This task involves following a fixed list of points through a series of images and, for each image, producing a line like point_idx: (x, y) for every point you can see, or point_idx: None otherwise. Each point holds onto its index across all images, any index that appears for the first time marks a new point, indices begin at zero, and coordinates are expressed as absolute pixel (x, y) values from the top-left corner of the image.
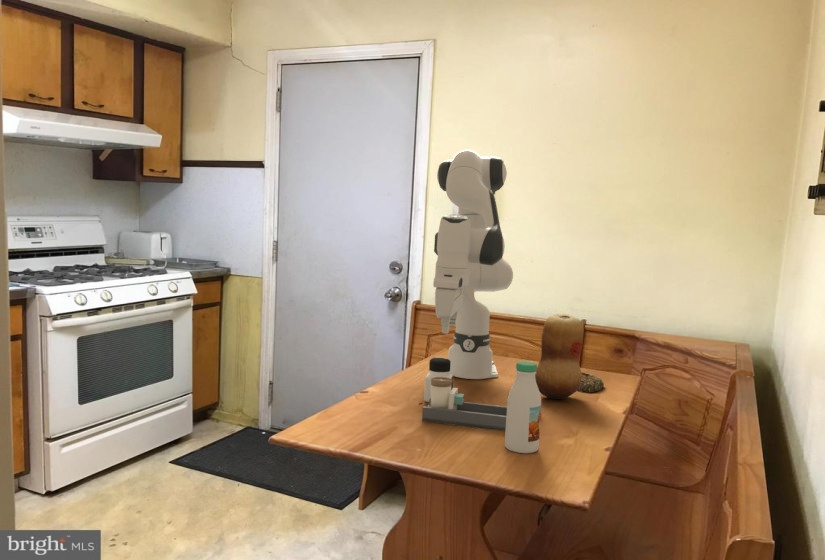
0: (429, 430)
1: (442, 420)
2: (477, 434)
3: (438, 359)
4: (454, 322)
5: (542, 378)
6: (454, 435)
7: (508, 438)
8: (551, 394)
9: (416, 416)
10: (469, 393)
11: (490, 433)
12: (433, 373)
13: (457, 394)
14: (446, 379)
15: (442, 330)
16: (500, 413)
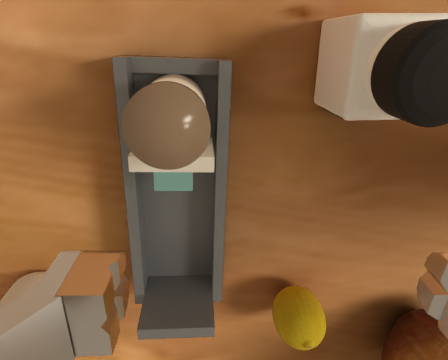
0: (52, 93)
1: None
2: (86, 210)
3: (432, 72)
4: (439, 324)
5: (416, 349)
6: (49, 163)
7: (5, 294)
8: (389, 333)
9: (159, 27)
10: (434, 144)
11: (108, 235)
12: (374, 50)
13: (179, 172)
14: (178, 147)
15: (52, 269)
16: (212, 253)
